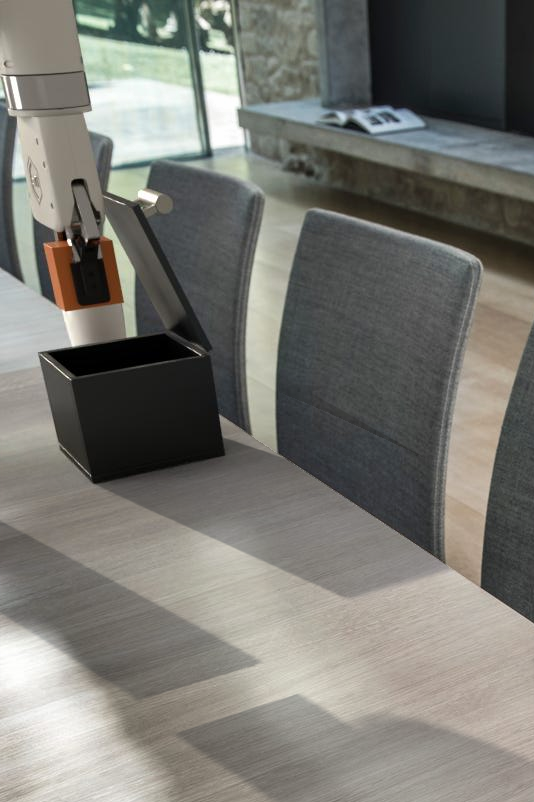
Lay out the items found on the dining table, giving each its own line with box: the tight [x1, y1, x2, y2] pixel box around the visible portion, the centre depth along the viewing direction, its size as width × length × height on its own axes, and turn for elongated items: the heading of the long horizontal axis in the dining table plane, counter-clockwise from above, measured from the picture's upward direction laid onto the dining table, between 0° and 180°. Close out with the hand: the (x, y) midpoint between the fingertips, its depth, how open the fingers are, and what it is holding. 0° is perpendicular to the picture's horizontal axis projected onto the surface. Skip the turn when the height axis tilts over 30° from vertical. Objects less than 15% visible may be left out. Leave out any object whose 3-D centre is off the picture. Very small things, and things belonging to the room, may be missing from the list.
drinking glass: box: [61, 303, 127, 347], centre depth 136 cm, size 7×7×15 cm
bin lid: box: [101, 187, 214, 353], centre depth 120 cm, size 15×13×5 cm
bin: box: [37, 330, 226, 484], centre depth 124 cm, size 15×13×11 cm
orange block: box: [43, 235, 125, 312], centre depth 116 cm, size 6×3×6 cm, turn 122°
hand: (88, 298), depth 117 cm, fingers closed on orange block, 3 cm apart
